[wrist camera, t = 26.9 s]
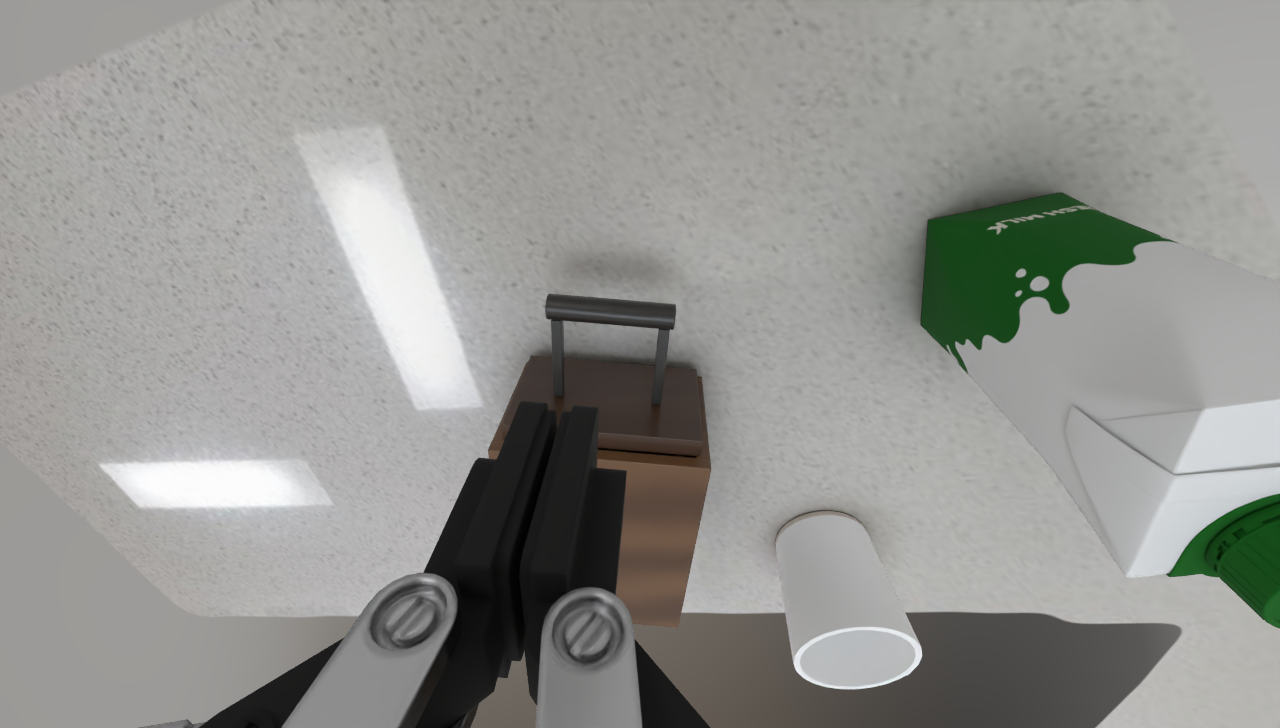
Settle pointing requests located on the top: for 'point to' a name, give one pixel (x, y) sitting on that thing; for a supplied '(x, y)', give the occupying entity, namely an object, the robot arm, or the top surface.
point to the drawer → (617, 381)
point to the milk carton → (1126, 379)
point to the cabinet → (654, 524)
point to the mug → (841, 605)
